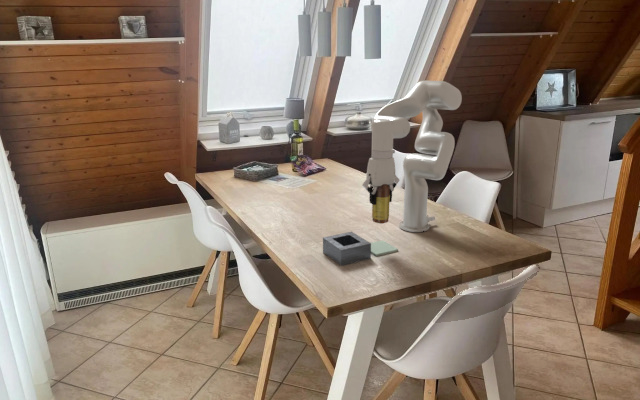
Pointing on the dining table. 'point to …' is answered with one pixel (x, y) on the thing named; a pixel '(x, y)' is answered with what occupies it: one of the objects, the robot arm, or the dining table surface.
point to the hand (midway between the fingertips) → (380, 202)
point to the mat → (382, 248)
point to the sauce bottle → (381, 205)
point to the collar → (346, 248)
